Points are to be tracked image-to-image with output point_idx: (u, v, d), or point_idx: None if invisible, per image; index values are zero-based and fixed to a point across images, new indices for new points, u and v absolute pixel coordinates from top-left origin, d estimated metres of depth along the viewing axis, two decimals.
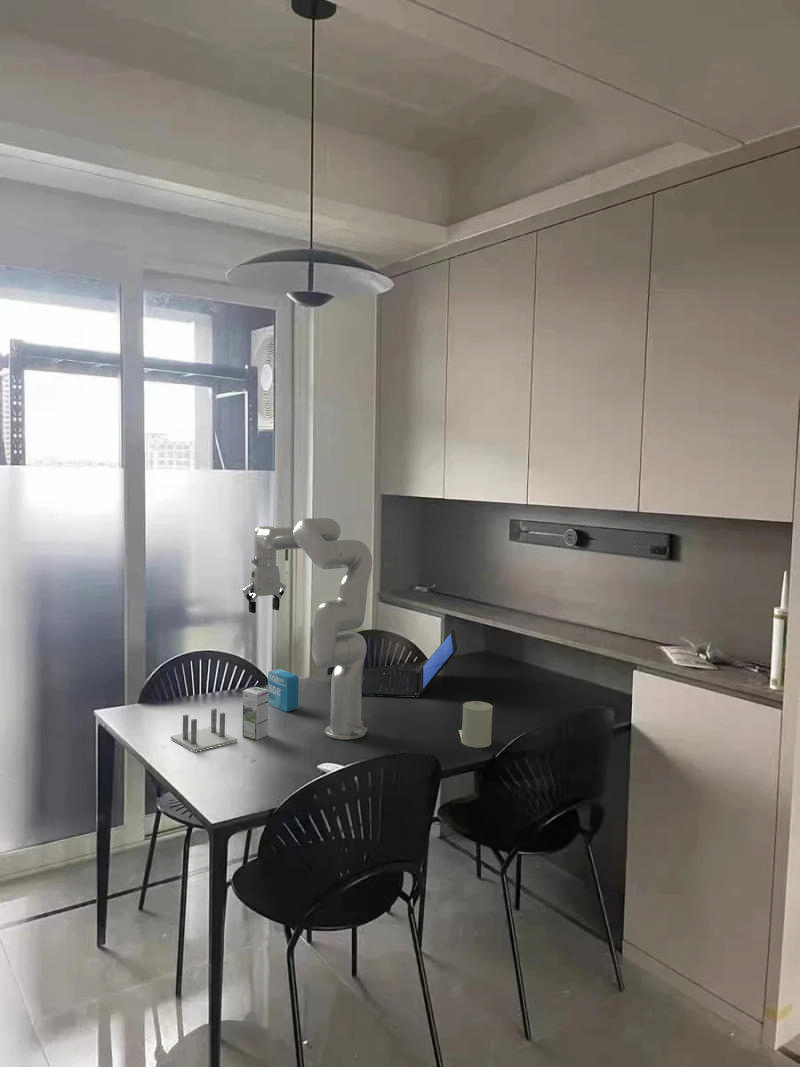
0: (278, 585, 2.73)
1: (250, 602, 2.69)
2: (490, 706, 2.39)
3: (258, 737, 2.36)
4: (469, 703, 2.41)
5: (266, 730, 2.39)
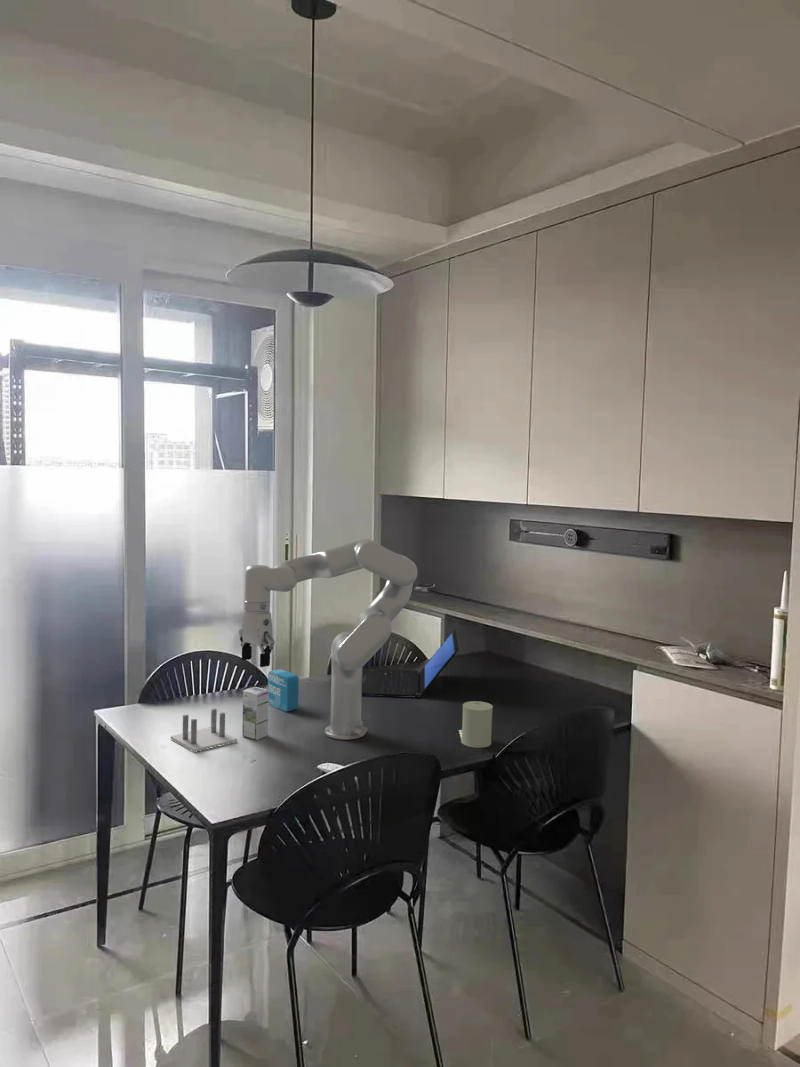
0: None
1: (267, 654, 2.32)
2: (490, 706, 2.39)
3: (258, 737, 2.36)
4: (469, 703, 2.41)
5: (266, 730, 2.39)
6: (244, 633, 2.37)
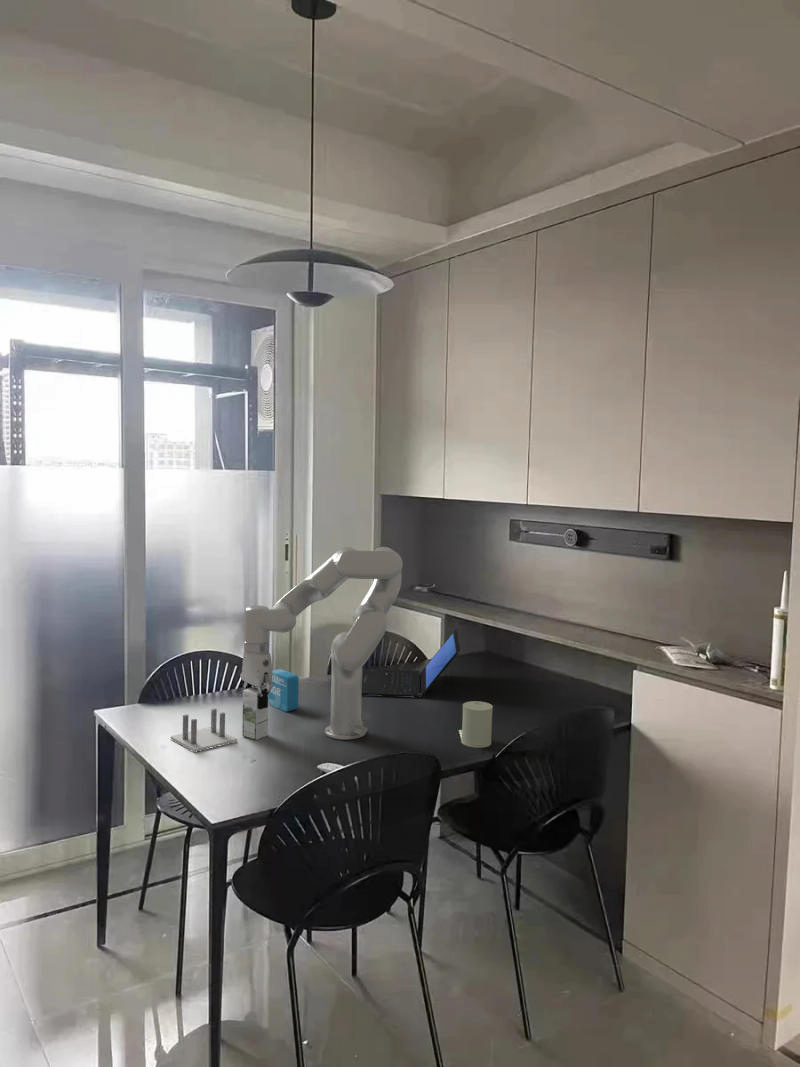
0: None
1: (265, 696, 2.34)
2: (490, 706, 2.39)
3: (258, 737, 2.36)
4: (469, 703, 2.41)
5: (266, 730, 2.39)
6: (244, 673, 2.38)
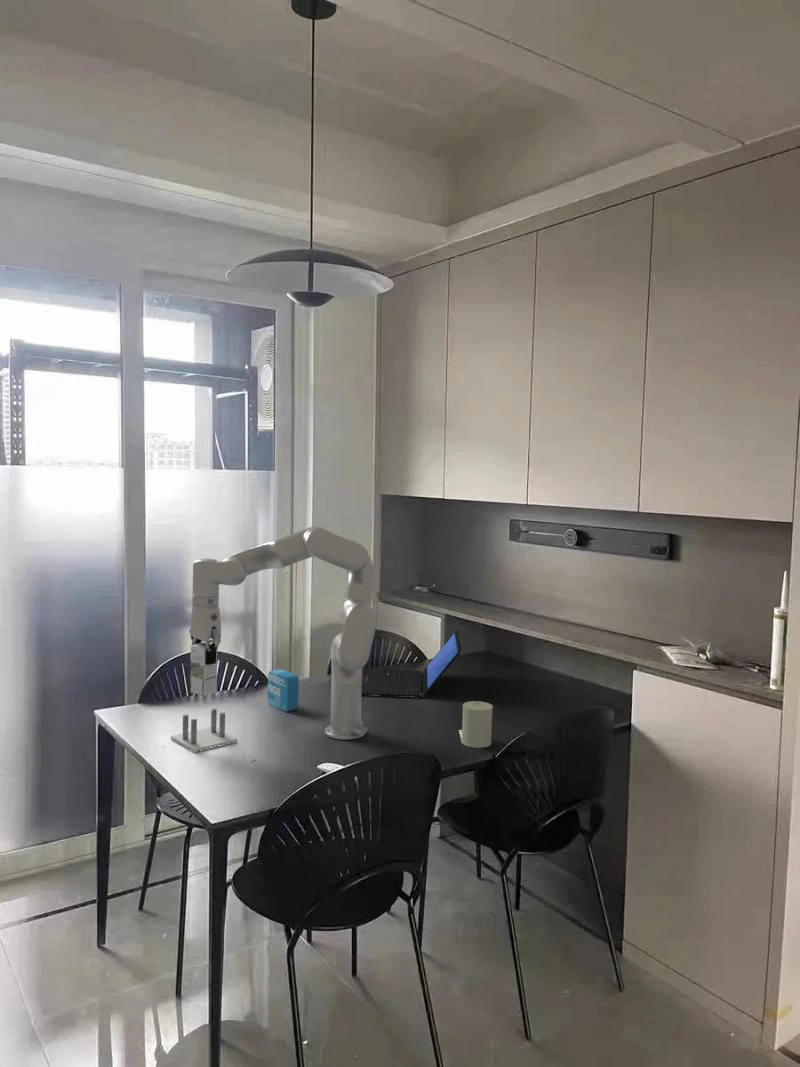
0: None
1: (213, 652, 2.28)
2: (490, 706, 2.39)
3: (206, 693, 2.29)
4: (469, 703, 2.41)
5: (215, 687, 2.32)
6: (192, 628, 2.31)
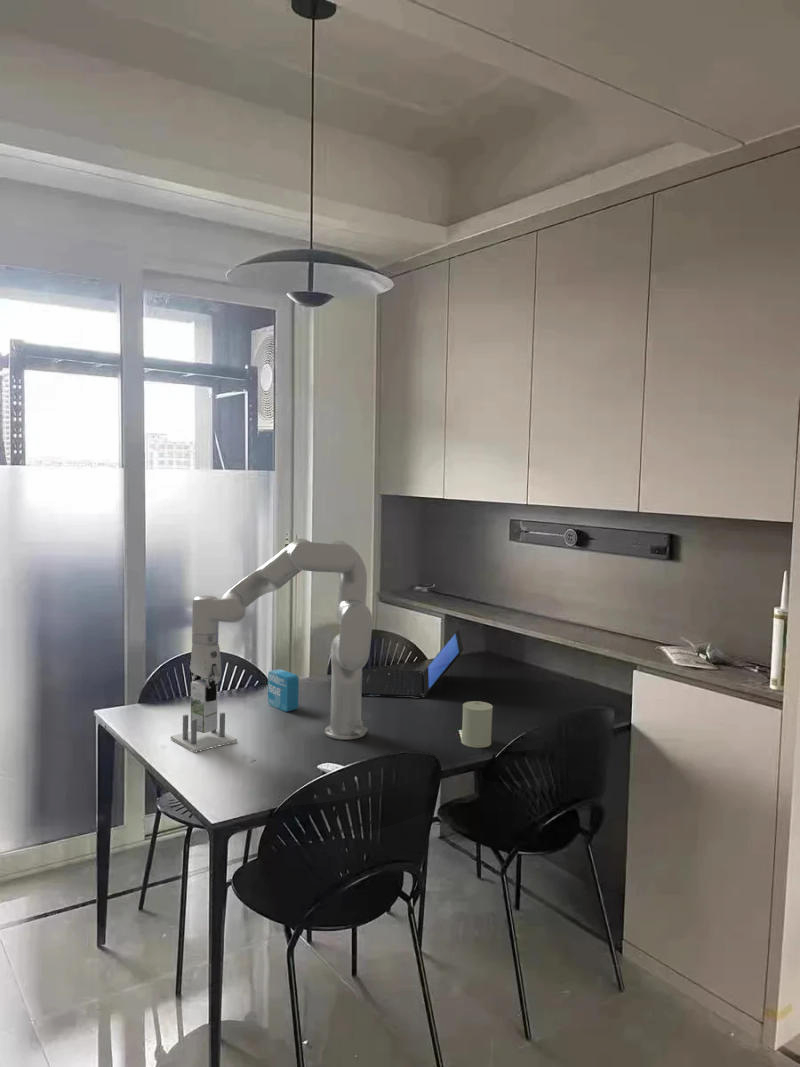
0: None
1: (213, 689, 2.29)
2: (490, 706, 2.39)
3: (206, 730, 2.30)
4: (469, 703, 2.41)
5: (215, 723, 2.33)
6: (192, 665, 2.32)
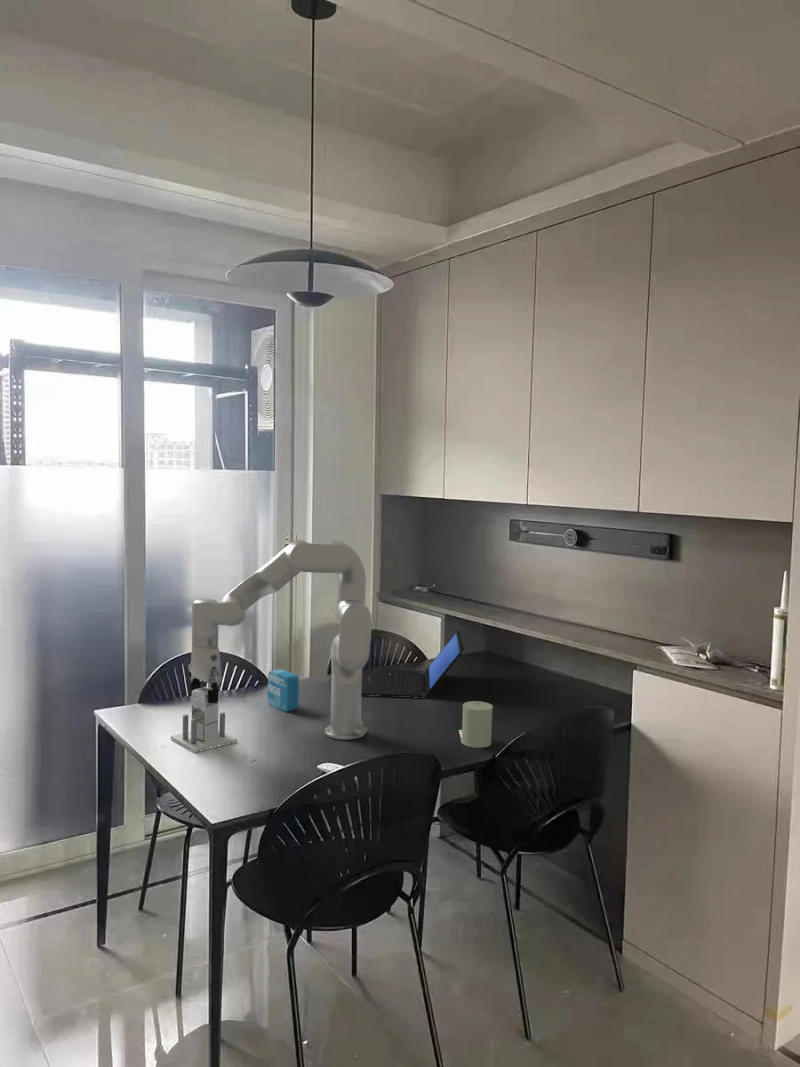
0: None
1: (215, 690, 2.28)
2: (490, 706, 2.39)
3: (207, 738, 2.30)
4: (469, 703, 2.41)
5: (216, 731, 2.33)
6: (192, 668, 2.32)
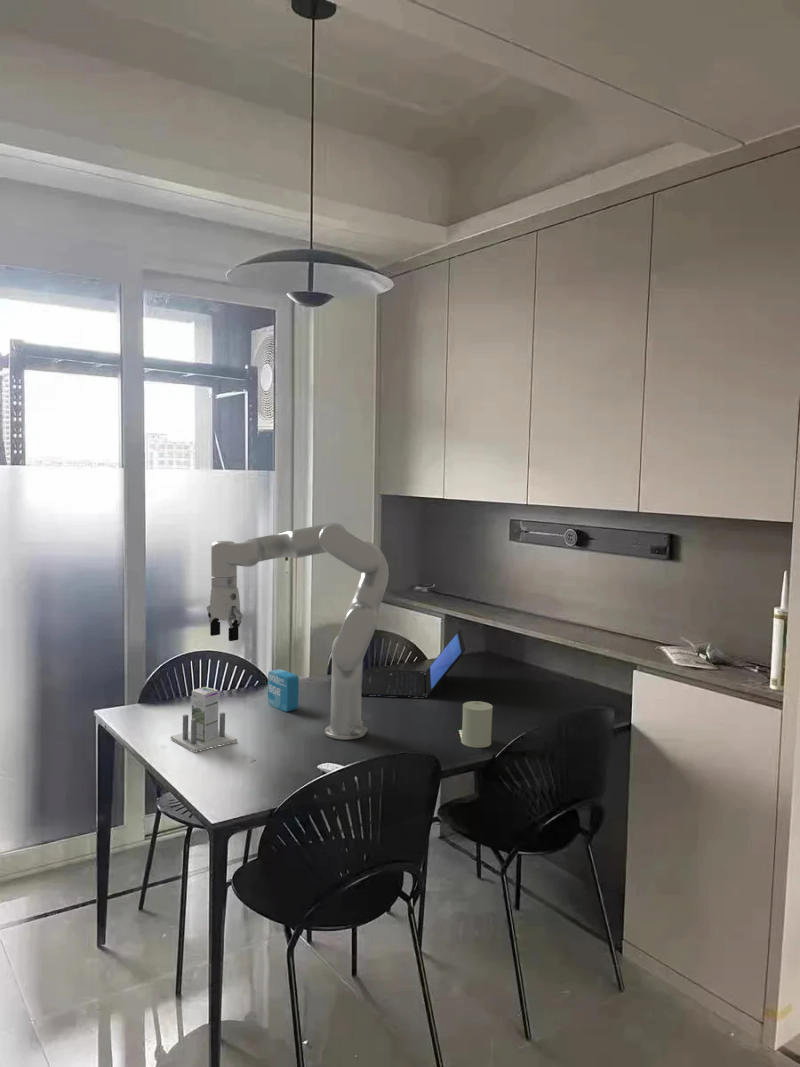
0: None
1: (236, 628, 2.35)
2: (490, 706, 2.39)
3: (207, 738, 2.30)
4: (469, 703, 2.41)
5: (216, 731, 2.33)
6: (212, 609, 2.39)
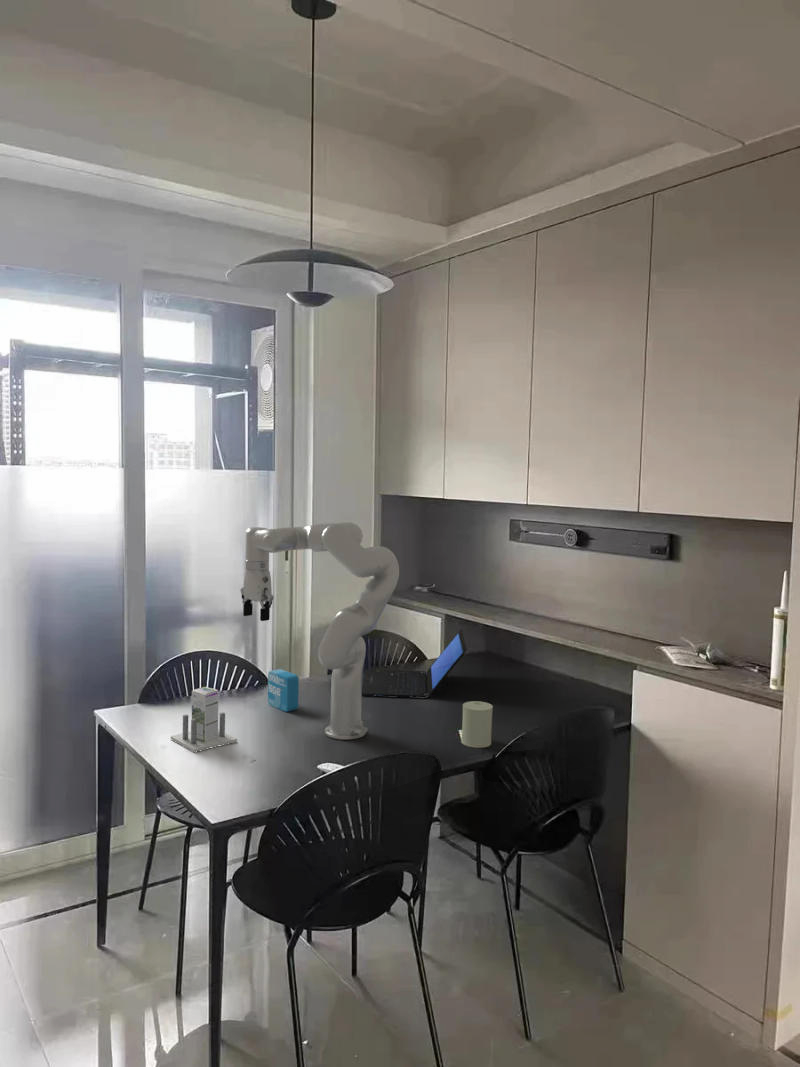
0: None
1: (267, 609, 2.51)
2: (490, 706, 2.39)
3: (207, 738, 2.30)
4: (469, 703, 2.41)
5: (216, 731, 2.33)
6: (245, 590, 2.56)
